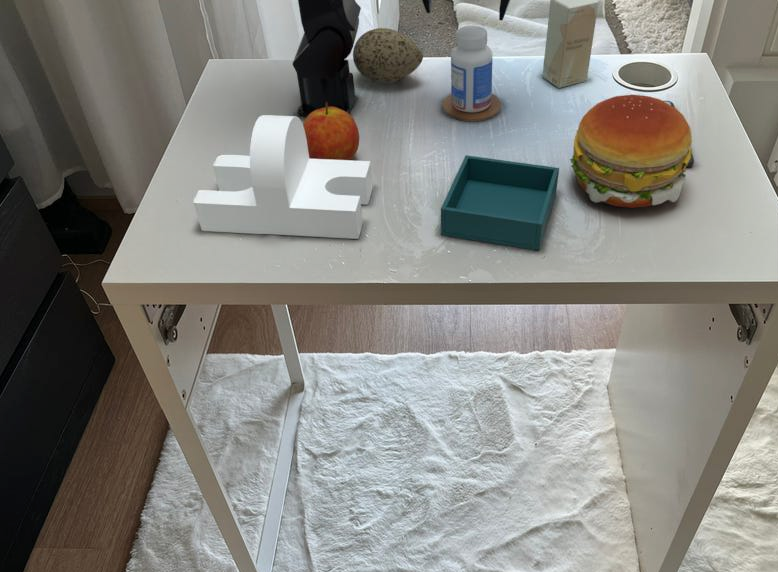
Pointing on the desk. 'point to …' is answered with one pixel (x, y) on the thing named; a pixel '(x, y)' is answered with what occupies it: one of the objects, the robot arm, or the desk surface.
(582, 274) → the desk surface
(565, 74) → the box
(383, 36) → the decorative egg
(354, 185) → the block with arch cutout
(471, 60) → the pill bottle
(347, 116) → the fruit
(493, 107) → the coaster
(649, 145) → the burger
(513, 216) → the bin
